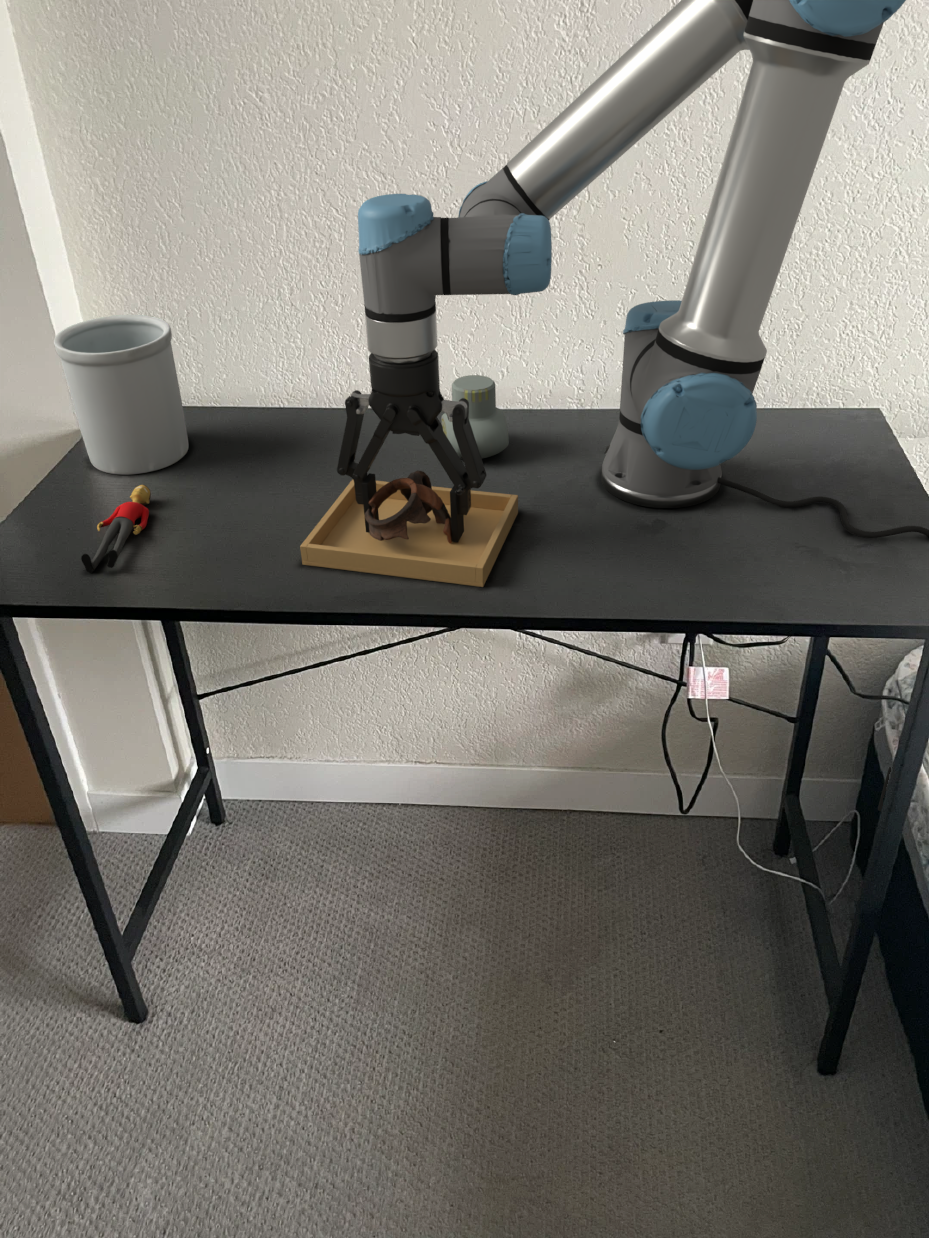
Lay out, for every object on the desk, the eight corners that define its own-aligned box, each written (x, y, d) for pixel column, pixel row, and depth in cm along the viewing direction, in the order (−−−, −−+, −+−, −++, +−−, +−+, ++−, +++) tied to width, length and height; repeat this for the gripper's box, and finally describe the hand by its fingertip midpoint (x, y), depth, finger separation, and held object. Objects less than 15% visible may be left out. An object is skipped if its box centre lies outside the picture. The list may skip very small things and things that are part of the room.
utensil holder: (179, 477, 138) (153, 350, 128) (70, 478, 138) (36, 353, 128) (204, 431, 150) (182, 313, 140) (104, 433, 150) (75, 315, 140)
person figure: (76, 540, 115) (126, 468, 130) (73, 568, 118) (123, 495, 132) (121, 552, 116) (166, 479, 131) (117, 580, 118) (162, 505, 133)
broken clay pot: (458, 559, 118) (420, 513, 113) (390, 584, 122) (350, 540, 117) (464, 489, 126) (430, 442, 120) (400, 514, 130) (364, 470, 124)
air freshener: (511, 465, 138) (511, 395, 132) (450, 470, 137) (447, 400, 132) (497, 432, 147) (497, 365, 141) (440, 437, 146) (438, 370, 141)
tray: (518, 512, 127) (518, 495, 126) (483, 587, 113) (482, 568, 112) (355, 495, 132) (353, 478, 131) (302, 564, 118) (299, 546, 117)
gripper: (513, 345, 110) (514, 526, 123) (318, 333, 115) (337, 507, 128) (497, 370, 104) (499, 558, 117) (291, 356, 109) (315, 537, 122)
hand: (414, 531), depth 122 cm, fingers closed on broken clay pot, 10 cm apart
